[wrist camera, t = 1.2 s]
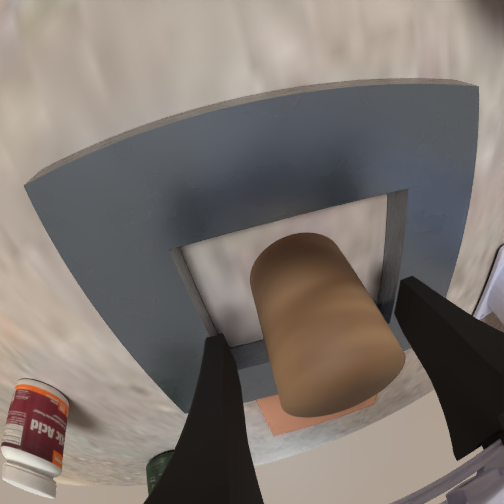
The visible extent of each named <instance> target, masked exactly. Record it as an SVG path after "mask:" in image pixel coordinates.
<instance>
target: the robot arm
mask: <svg viewBox="0 0 504 504" xmlns="http://www.w3.org/2000/svg"><path fill="white" fill-rule="evenodd" d="M491 312H494V313H495V315H496V316H497V317H498V318H499V320H500V321H501V322H502V324H503V325H504V245H503V246H502V247H501V248H500V249H499V252H498V255H497V257H496V260H495V263H494V266H493V269H492V272H491V274H490V277H489V280H488V282H487V285H486V287H485V290H484V292H483V295H482V297H481V299H480V302H479V304H478V306H477V309H476V311H475V313H474V315H473V316H472V315H470V314H468V313H467V312H465V311H464V310H462V309H461V308H459V307H458V306H456V305H455V304H453V303H452V302H450V301H449V300H447V299H446V298H444V297H443V296H441V295H440V294H439V293H437V292H436V291H434V290H433V289H431V288H430V287H429V286H427V285H426V284H424V283H423V282H421V281H420V280H418V279H417V278H415V277H414V276H410V277H407V278H405V279H402V280H400V285H399V291H398V296H397V301H396V306H395V311H394V315H395V317H396V319H397V321H398V323H399V326H400V328H401V330H402V332H403V334H404V336H405V337H406V339H407V341H408V342H409V344H410V345H411V347H412V349H413V350H414V352H415V354H416V355H417V357H418V359H419V360H420V362H421V363H422V365H423V367H424V369H425V370H426V372H427V374H428V376H429V378H430V379H431V382H432V384H433V386H434V389H435V391H436V393H437V396H438V398H439V401H440V404H441V407H442V409H443V412H444V415H445V419H446V422H447V426H448V429H449V433H450V437H451V442H452V446H453V452H454V455H455V458H456V460H457V461H458V460H460V459H462V458H463V457H465V456H466V455H468V454H470V453H471V452H473V451H474V450H475V449H477V448H479V447H480V446H481V445H482V447H483V449H484V450H483V451H482V452H481V453H479V454H478V455H476V456H475V457H474V458H472V459H470V460H469V461H467V462H466V463H465V464H463V465H461V466H460V467H458V468H457V469H455V470H453V471H452V472H450V473H448V474H447V475H445V476H443V477H442V478H440V479H438V480H436V481H435V482H433V483H431V484H429V485H427V486H426V487H424V488H422V489H420V490H418V491H416V492H414V493H412V494H410V495H408V496H406V497H404V498H402V499H399V500H397V501H395V502H393V503H390V504H424V503H426V502H427V501H429V500H431V499H433V498H435V497H437V496H439V495H440V494H442V493H444V492H445V491H447V490H449V489H450V488H452V487H454V486H455V485H457V484H458V483H460V482H461V481H463V480H465V479H466V478H467V477H469V476H471V475H472V474H474V473H475V472H476V471H477V474H476V476H474V477H472V478H470V479H468V480H466V481H465V482H463V483H461V484H460V485H458V486H457V487H455V488H454V489H453V490H451V491H450V492H448V493H447V494H446V498H447V500H445V501H444V502H442V503H440V504H504V333H503V332H501V331H499V330H497V329H495V328H493V327H491V326H489V325H487V324H485V323H484V322H482V321H480V319H481V318H483V317H485V316H487V315H488V314H490V313H491ZM144 504H264V503H263V499H262V495H261V492H260V488H259V485H258V481H257V477H256V474H255V470H254V466H253V462H252V458H251V453H250V449H249V445H248V439H247V432H246V424H245V415H244V406H243V398H242V389H241V383H240V379H239V374H238V370H237V365H236V362H235V360H234V357H233V355H232V353H231V351H230V349H229V347H228V345H227V342H226V340H225V338H224V336H223V334H220V335H216V336H211V337H207V338H206V339H205V344H204V351H203V358H202V363H201V368H200V373H199V377H198V381H197V386H196V390H195V394H194V397H193V400H192V404H191V407H190V410H189V414H188V417H187V420H186V423H185V425H184V428H183V431H182V433H181V436H180V438H179V441H178V443H177V445H176V447H175V450H174V452H173V454H172V456H171V458H170V460H169V462H168V464H167V466H166V468H165V470H164V471H163V473H162V475H161V477H160V479H159V480H158V482H157V484H156V486H155V487H154V489H153V490H152V492H151V493H150V495H149V496H148V498H147V499H146V501H145V502H144Z"/></svg>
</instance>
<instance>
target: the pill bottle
mask: <svg viewBox="0 0 504 504" xmlns="http://www.w3.org/2000/svg"><path fill="white" fill-rule="evenodd" d="M68 411H69V402H68V400H67V399H66V398H65V397H64V396H63V395H62V394H61V393H60V392H59V391H57V390H56V389H54V388H53V387H51V386H49V385H47V384H44V383H42V382H39V381H35V380H30V379H21V380H19V381H18V382H17V383H16V386H15V389H14V393H13V396H12V400H11V405H10V408H9V412H8V417H7V421H6V425H5V430H4V435H3V440H2V445H1V450H2V453H3V455H4V457H5V458H6V459H7V462H4V465H3V476H2V478H3V480H4V481H6V482H8V483H10V484H12V485H14V486H16V487H18V488H21V489H23V490H26V491H28V492H31V493H34V494H37V495H40V496H44V497H47V498H52V499H55V495H56V482H55V481H54V480H53V478H54V477H57V476H59V475H60V474H61V471H62V459H63V449H64V441H65V432H66V426H67V418H68Z"/></svg>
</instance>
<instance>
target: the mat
mask: <svg viewBox="0 0 504 504" xmlns="http://www.w3.org/2000/svg"><path fill="white" fill-rule="evenodd" d="M377 394H378V393H377ZM377 394H376V395H374V396H373V397H371V398H369V399H368V400H366V401H364V402H362V403H360V404H358V405H356V406H354V407H351V408H349V409H346V410H344V411H341V412H338V413H334V414H330V415H326V416H320V417H311V418H303V417H295V416H292V415H289V414H287V413H286V412H285V411H284V410H283V409H282V407H281V403H280V399H279V395H274V396H270V397H266V398H262V399H257V400H256V401H257V403H258V405H259V407H260V409H261V411H262V413H263V415H264V417H265V419H266V421H267V423H268V425H269V427H270V429H271V431H272V433H273V435H274V436H275V435H279V434H283V433H287V432H291V431H294V430H298V429H302V428H305V427H309V426H312V425H315V424H319V423H322V422H325V421H328V420H331V419H334V418H337V417H340V416H343V415H346V414H349V413H352V412H354V411H357V410H360V409H362V408H365V407H368V406H370V405H373V404H374V402H375V400H376V397H377Z"/></svg>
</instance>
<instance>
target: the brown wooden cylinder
mask: <svg viewBox="0 0 504 504" xmlns="http://www.w3.org/2000/svg"><path fill="white" fill-rule="evenodd" d="M250 285H251V289H252V293H253V297H254V301H255V305H256V309H257V313H258V317H259V321H260V325H261V329H262V333H263V337H264V341H265V345H266V349H267V353H268V357H269V360H270V364H271V368H272V372H273V376H274V380H275V384H276V388H277V392H278V395H279V399H280V403H281V407H282V409H283V410H284V411H285V412H286V413H287V414H289V415H292V416H295V417H303V418H311V417H320V416H326V415H330V414H334V413H338V412H341V411H344V410H346V409H349V408H351V407H354V406H356V405H358V404H360V403H362V402H364V401H366V400H368V399H369V398H371V397H373V396H374V395H376V394H377V393H379V392H380V391H381V390H383V389H384V388H385V387H386V386H388V385H389V384H390V383H391V382H392V381H393V380H394V379H395V378H396V376H397V375H398V374H399V373H400V371H401V370H402V368H403V366H404V363H405V353H404V351H403V350H402V348H401V346H400V344H399V343H398V341H397V339H396V338H395V336H394V334H393V333H392V331H391V329H390V327H389V326H388V324H387V322H386V321H385V319H384V318H383V316H382V314H381V313H380V311H379V309H378V308H377V306H376V305H375V303H374V301H373V300H372V298H371V297H370V295H369V293H368V292H367V290H366V289H365V287H364V286H363V284H362V282H361V281H360V279H359V278H358V276H357V275H356V273H355V272H354V270H353V269H352V267H351V266H350V264H349V263H348V261H347V260H346V258H345V257H344V255H343V254H342V252H341V251H340V249H339V248H338V246H337V245H336V244H335V243H334V242H333V241H332V240H331V239H329V238H328V237H326V236H323V235H320V234H316V233H298V234H293V235H289V236H286V237H284V238H282V239H279V240H278V241H276V242H274V243H273V244H271V245H270V246H269V247H267V248H266V249H265V250H264V251H263V252H262V253H261V254H260V255H259V257H258V258H257V260H256V261H255V263H254V265H253V267H252V270H251V274H250Z"/></svg>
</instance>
